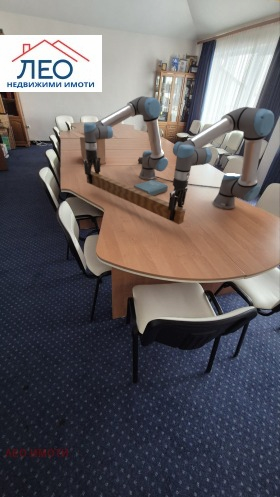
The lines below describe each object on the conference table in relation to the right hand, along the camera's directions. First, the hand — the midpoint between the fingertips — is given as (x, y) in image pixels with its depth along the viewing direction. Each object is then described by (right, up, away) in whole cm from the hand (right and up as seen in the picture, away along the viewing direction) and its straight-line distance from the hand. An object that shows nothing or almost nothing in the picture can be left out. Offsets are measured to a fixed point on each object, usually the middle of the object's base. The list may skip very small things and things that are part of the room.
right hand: (174, 219), depth 126 cm
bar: (-27, +15, +19) cm, 37 cm away
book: (-11, +29, +53) cm, 62 cm away
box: (-69, +77, +111) cm, 152 cm away
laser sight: (-11, +75, +114) cm, 137 cm away
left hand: (-54, +32, +37) cm, 73 cm away
